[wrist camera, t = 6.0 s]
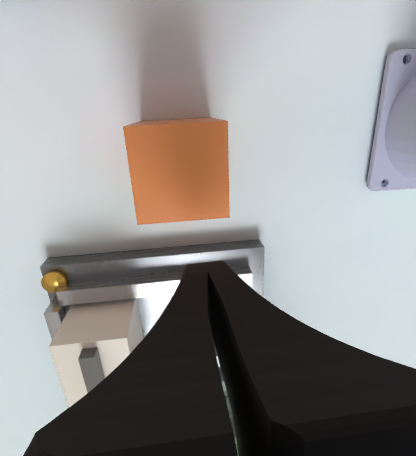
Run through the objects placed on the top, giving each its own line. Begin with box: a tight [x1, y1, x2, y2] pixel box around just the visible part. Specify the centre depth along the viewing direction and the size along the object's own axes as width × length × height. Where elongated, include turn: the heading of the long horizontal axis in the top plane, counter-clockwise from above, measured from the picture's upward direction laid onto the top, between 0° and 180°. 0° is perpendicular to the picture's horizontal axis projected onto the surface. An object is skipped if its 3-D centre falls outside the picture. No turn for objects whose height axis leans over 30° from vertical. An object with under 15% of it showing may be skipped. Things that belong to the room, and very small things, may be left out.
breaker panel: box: [40, 240, 264, 446], centre depth 22 cm, size 14×18×3 cm
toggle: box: [49, 298, 143, 407], centre depth 18 cm, size 4×5×5 cm
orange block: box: [123, 118, 230, 225], centre depth 15 cm, size 4×4×6 cm
